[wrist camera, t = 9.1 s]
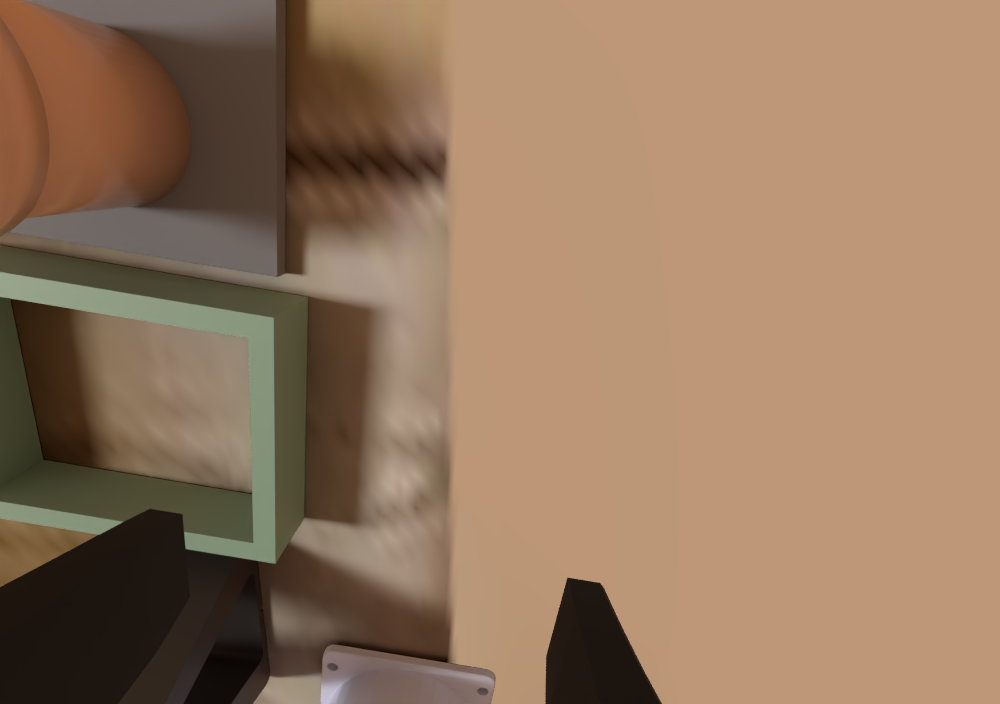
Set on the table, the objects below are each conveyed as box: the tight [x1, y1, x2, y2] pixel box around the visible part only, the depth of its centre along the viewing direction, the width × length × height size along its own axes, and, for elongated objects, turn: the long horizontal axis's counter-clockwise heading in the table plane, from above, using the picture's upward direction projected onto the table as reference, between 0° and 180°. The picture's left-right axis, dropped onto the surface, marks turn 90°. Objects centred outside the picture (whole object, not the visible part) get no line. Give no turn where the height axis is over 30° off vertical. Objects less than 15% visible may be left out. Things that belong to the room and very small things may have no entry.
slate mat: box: [9, 0, 286, 277], centre depth 15 cm, size 9×10×1 cm
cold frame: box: [0, 245, 308, 564], centre depth 18 cm, size 10×12×2 cm
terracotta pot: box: [0, 0, 191, 236], centre depth 12 cm, size 6×6×6 cm
